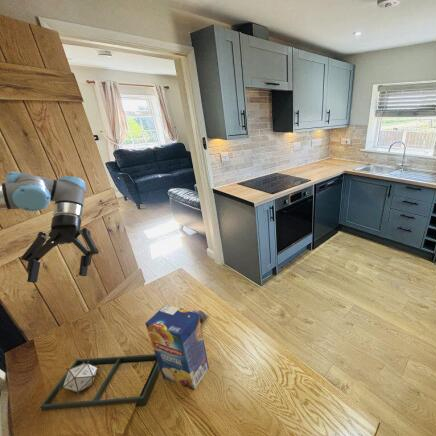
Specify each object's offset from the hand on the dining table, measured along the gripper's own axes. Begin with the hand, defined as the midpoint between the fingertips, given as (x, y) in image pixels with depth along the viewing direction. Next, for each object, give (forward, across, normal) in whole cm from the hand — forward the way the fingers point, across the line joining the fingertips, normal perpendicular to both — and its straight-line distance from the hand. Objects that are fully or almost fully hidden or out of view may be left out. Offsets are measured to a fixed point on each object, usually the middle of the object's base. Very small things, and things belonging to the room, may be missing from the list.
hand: (57, 278), depth 76 cm
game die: (+33, -8, -5) cm, 34 cm away
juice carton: (+36, -37, -4) cm, 52 cm away
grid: (+34, -15, -5) cm, 38 cm away
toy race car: (+21, -34, -19) cm, 44 cm away
